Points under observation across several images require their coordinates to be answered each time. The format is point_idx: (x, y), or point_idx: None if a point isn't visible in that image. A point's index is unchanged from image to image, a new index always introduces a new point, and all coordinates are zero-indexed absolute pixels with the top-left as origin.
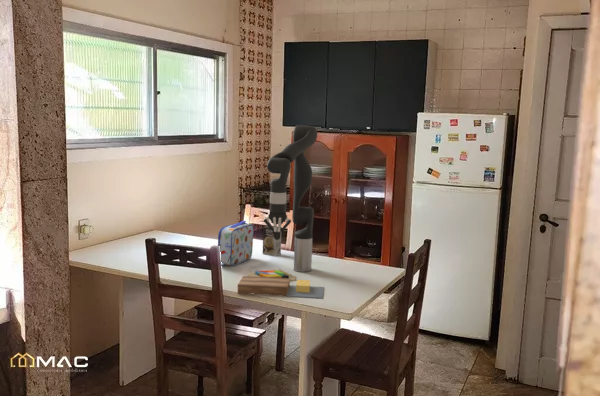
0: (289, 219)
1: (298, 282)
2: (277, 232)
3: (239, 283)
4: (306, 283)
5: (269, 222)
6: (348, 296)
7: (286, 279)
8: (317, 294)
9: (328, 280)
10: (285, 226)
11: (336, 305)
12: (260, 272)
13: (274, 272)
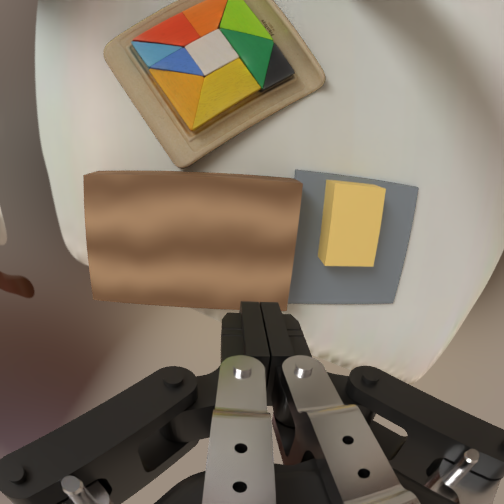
0: (495, 487)
1: (337, 223)
2: (267, 402)
3: (94, 284)
4: (367, 234)
5: (102, 454)
6: (458, 270)
7: (287, 203)
8: (385, 275)
9: (437, 95)
10: (392, 457)
11: (408, 346)
12: (154, 59)
13: (223, 33)
